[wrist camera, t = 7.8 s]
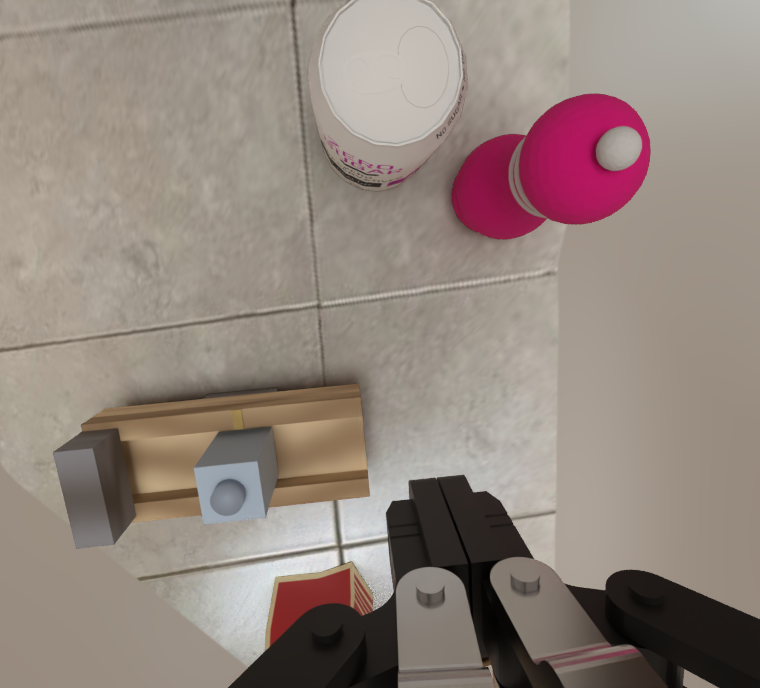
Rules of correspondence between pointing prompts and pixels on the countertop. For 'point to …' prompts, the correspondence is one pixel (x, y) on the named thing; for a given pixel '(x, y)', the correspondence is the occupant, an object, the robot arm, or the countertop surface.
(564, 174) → the pepper mill
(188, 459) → the beam
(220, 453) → the rider
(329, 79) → the supplement can
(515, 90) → the countertop surface
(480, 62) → the countertop surface
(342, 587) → the milk carton
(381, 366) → the countertop surface
